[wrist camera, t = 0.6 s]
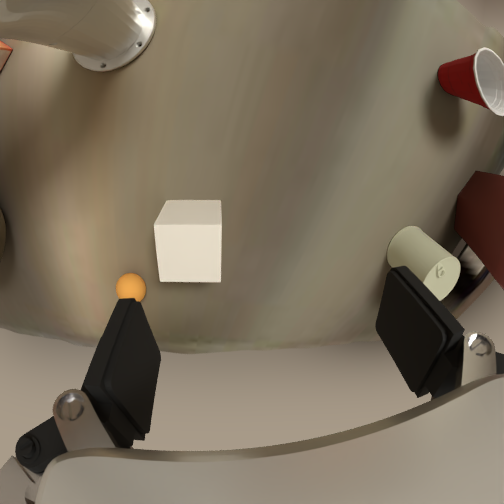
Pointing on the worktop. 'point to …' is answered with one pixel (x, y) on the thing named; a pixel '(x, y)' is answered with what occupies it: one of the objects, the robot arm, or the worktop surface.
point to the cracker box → (4, 53)
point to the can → (424, 260)
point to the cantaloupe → (2, 234)
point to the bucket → (483, 220)
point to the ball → (131, 287)
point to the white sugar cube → (189, 241)
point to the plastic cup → (476, 79)
